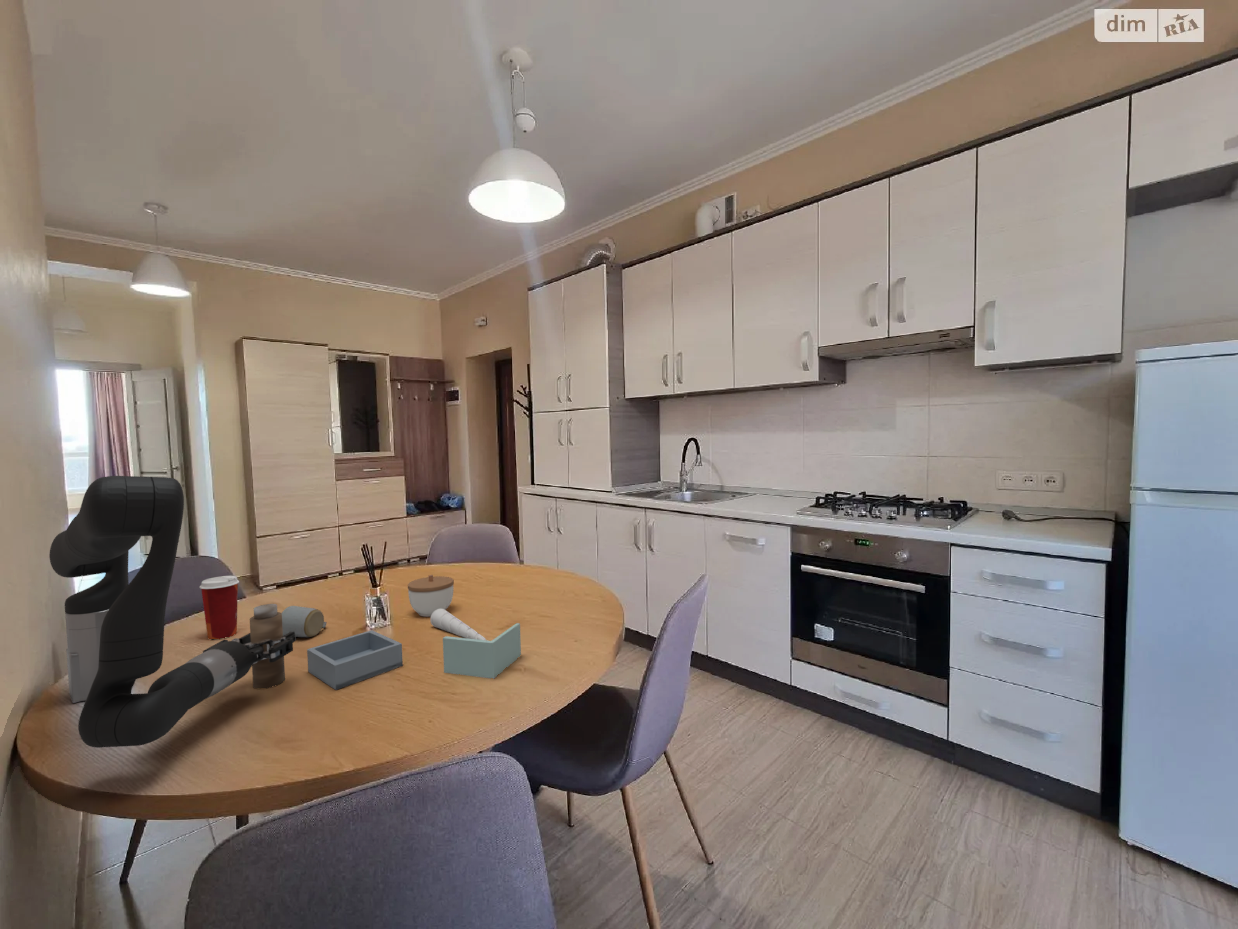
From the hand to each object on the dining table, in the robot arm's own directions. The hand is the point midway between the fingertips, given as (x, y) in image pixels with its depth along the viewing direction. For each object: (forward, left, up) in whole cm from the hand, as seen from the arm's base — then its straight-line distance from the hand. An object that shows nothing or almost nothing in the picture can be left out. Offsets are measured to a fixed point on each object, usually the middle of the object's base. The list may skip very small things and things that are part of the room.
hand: (273, 636), depth 109 cm
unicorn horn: (+39, -10, -9) cm, 41 cm away
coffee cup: (+1, +41, -9) cm, 42 cm away
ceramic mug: (+14, +24, -9) cm, 29 cm away
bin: (+13, -9, -9) cm, 18 cm away
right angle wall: (+31, -30, -9) cm, 44 cm away
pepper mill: (-1, -1, -9) cm, 9 cm away
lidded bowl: (+44, +12, -9) cm, 46 cm away
